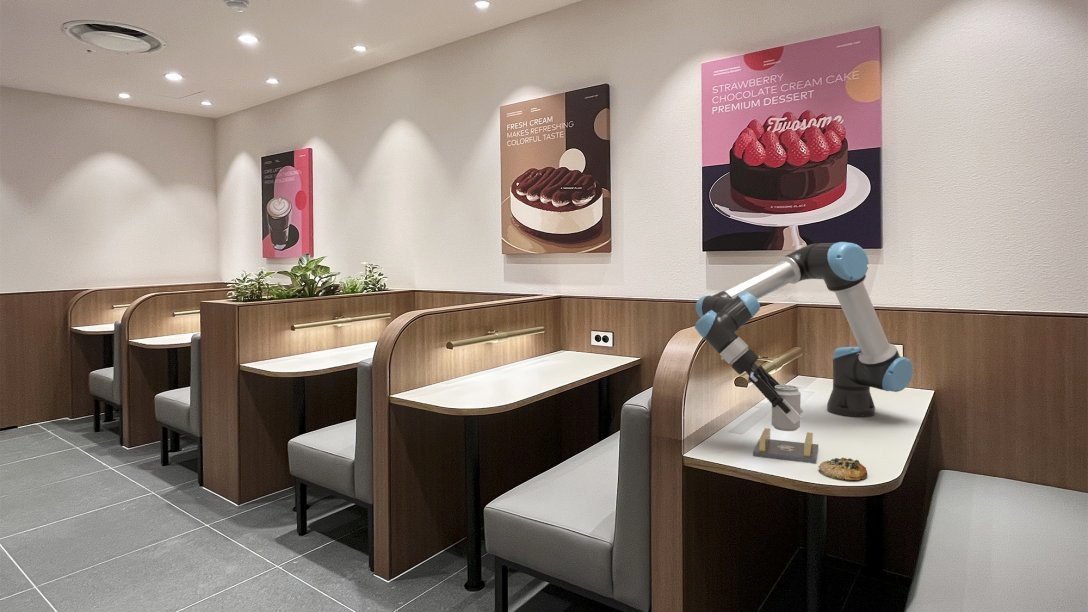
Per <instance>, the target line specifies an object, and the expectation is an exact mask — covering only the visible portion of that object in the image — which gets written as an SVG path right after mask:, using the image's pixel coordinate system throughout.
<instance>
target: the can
mask: <svg viewBox="0 0 1088 612" xmlns="http://www.w3.org/2000/svg"><path fill="white" fill-rule="evenodd" d="M775 391H776V392H777V393H778V394H779V395H780V397H781V398H782V399H783V400H785V401H786V402H787V403H788V404H789V405H790V406H791V407H792V408H793V409H794V410H795V411H796V412H797V413H798V414H799V415H800V416H801V414H800V407H801V394H802V393H801V391H800V390H799V387H798V386H796V385H789V384H780V385H776V386H775ZM771 426H772V427H773V428H774V429H776V430H777V431H783V432H794V431H797V430H798V429H799V428H800V427H801V419H800V420H799V421H798V422H796V423H795V424H793V422H792V421H791V420H790V419H789V418H788V417H787V416H786V415H785V414H784V413H783V412H782V411H781V410H780V409H779V408H778V407H777V406H776V407H775V408H774V407H773V406H772V405H771Z"/></svg>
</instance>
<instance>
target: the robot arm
mask: <svg viewBox="0 0 1088 612" xmlns="http://www.w3.org/2000/svg"><path fill="white" fill-rule="evenodd" d="M868 265H869V257H868V255H867V253H866V251H865V250H864V249H863V248H862V247H861V246H860V245H858V244H856V243H853V242H847V241H839V242H826V243H825V242H824V243H811V244H808V245H806V246H803V247H801V248H799V249H796V250H794V251H792V252H790V253H788V254H786V255H784V256H783V257H781V258H779V259H778V262H777V263H776V264H773V265H771V266H769V267H767V268H765V269H763V270H761V271H759V272H757V273H756V274H753V275H751V276H750V277H747V278H746V279H744V280H742V281H740V282H737V283H736V284H734V285H732V286H730V287H727V288H726V289H724V290H722V291H719V292H718V293H715V294H713V295H704V296H701V297H700V298H699V299H698V300H697V301H696V304H695V312H696V314H697V316H698V317H700V318H699V319H698V320H697V321H696V322H695V325H694V328H695V330H696V331H697V333H698V334H699V335H700V337H702V339H703V340H704V341H706V342H707V343H708V344H709V345H710V346H711V347H712V349H714V350H715V351H716V352H717V354H718V355H720V359H721V360H722V361H723V360H724V361H725V362H727V364H729V365H730V364H731V366H730V367H731V368H732V369H733V370H734V371H735V372H736V373H737V375H742V374H743V373H744V372H746V373H747V375H748V380H749V382H751V383H752V384H753V385H754V386H755V387H756V389H758V390H759V391H760V393H761V394H762V395H763V396H764V397H765V398H766V399H767V401H769V402H770V404H771V407H772V406H773V407H774V408H775V407H776V406H777V407H778V408H779V409H780V410H781V411H782V412H783V413H784V414H785V415H786V416H787V417H788V418H789V419H790V420H791V421H792V422H793V424H795V423H796V422H798V421H799V420H800V421H801V419H802V418H803V417H802V415H801V414H802V413H803V412H804V411H805V410H804V409H803V408H802V407H801V406H800V415H799V414H798V413H797V412H796V411H795V410H794V409H793V408H792V407H791V406H790V405H789V404H788V403H787V402H786V401H785V400H783V399H782V398H781V397H780V395H779V394H778V393H777V392H776V391H775V386H776V385H781V384H780V383H779V382H778V381H777V380H776V379H775V378H774V377H773V376H772V375H771V374H770V373H768V371H767V370H766V369H765V368H764V366H762V365H759V366H758V365H757V364H756V362H757V361H758V360H759V355H758V354H757V353H755V351H753V349H751V348H749V345H748V344H747V343H746V342H745V341H744V340H743V339H742V338H741V337H740V336H739V335H738V334H737V333H736V332H737V331H738V330H740V328H742V327H743V326H744V325H745V324H747V323H748V322H749V321H751V319H753V318H754V316H756V314H757V313H758V312H759V311H760V308H761V305H760V302H759V299H760V298H763V297H765V296H767V295H768V294H771V293H773V292H775V291H777V290H778V289H780V288H782V287H784V286H787V285H789V284H791V285H792V284H793V285H794V284H797V283H799V282H801V281H805V280H823V281H824V283H825V286H826V289H827V290H828V291H829V292H833V293H834V294H835V296H836V298H837V301H838V303H839V305H840V307H841V310H842V311H843V314H844V317H845V318H846V321H847V322H848V325H849V327H850V330H851V332H852V335H853V336H854V339H855V341H856V344H857V346H846V347H845V346H843V347H841V346H840V347H837V348H835V349H834V350H833V358H832V390H831V392H830V395H829V398H828V401H827V404H826V405H827V406H826V410H827V411H828V412H829V413H832V414H836V415H841V416H847V417H864V418H865V417H871V416H874V415H875V414H876V405H875V404H874V400H873V397H872V394H871V390H870V389H871V388H874V389H877V390H881V391H884V392H885V391H886V392H894V393H898V392H902V391H903V390H904V389H905V388H907V387H908V386H909V384H910V383H911V381H912V378H913V375H914V365H913V363H912V362H911V360H910V359H909V358H907V357H905V356H900V353H899V351H898V348H897V346H896V345H894V344H892V343H890V342H889V341H888V339H887V336H886V333H885V332H884V328H883V327H882V325H881V321H880V319H879V317H878V315H877V312H876V310H875V308H874V305H873V303H872V300H871V298H870V296H869V294H868V291H867V289H866V286H865V284H864V282H865V280H866V278H867V272H868V270H869V267H868Z"/></svg>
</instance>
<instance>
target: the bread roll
mask: <svg viewBox="0 0 1088 612" xmlns="http://www.w3.org/2000/svg"><path fill="white" fill-rule="evenodd" d="M860 462H861V461H859V460H858V459H855V460H854V459H853V458H851V457H849V458H846V457H840V458H838V457H835V458H831V459H830V460H826V461H823V462H821V463H820V464H819V465H818V469H819V470H820V471H821V473H822V474H821V473H820V474H821V475H823V474H824V475H823V476H825V475H827V476H826V477H828V476H829V477H828V478H830V477H833V478H832V479H834V478H838V479H837V480H840V479H842V480H844V479H845V480H844V481H848V480H860V479H863V480H865V479H866V478H867V477H868V471H867V467H865V465H863V464H862V463H860ZM820 471H819V472H820ZM860 481H861V480H860Z"/></svg>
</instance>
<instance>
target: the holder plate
mask: <svg viewBox="0 0 1088 612" xmlns="http://www.w3.org/2000/svg"><path fill="white" fill-rule="evenodd" d="M813 435H814V434H813V432H808V431H807V432H806V435H805V439H804V442H799V441H789V440H780V439H779V440H778V439H771V428H767V427H764V429H763V431H762V433H761V435H760V437H759V440H758V441H757V443H756V445H755V447H754V450H753V452H752V453H753V455H752V456H753V457H761V458H766V457H767V458H769V459H775V458H777V459H776V460H783V459H784V461H791V460H794V462H800V461H803V462H802V463H808V462H813V463H812V464H817V459H818V454H817V453H819V444H818V443H817V444H816V443H814V441H813V440H814V436H813ZM767 458H766V459H767Z"/></svg>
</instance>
